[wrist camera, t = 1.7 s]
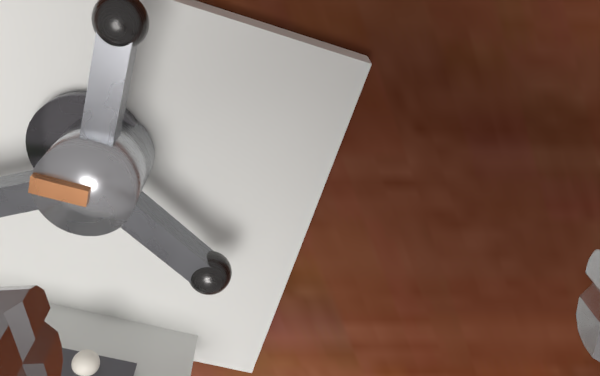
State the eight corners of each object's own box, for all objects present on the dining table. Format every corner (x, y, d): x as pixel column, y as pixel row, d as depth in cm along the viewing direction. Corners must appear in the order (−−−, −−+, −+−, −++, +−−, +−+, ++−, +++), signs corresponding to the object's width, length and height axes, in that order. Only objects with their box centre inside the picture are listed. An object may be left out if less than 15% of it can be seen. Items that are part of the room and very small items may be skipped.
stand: (367, 55, 28) (404, 126, 20) (252, 355, 38) (244, 490, 29) (-104, -97, 25) (-302, -89, 16) (-104, 278, 34) (-231, 407, 25)
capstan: (303, 34, 26) (308, 63, 22) (230, 260, 32) (222, 319, 27) (-37, -76, 23) (-109, -68, 19) (-50, 192, 29) (-108, 244, 25)
